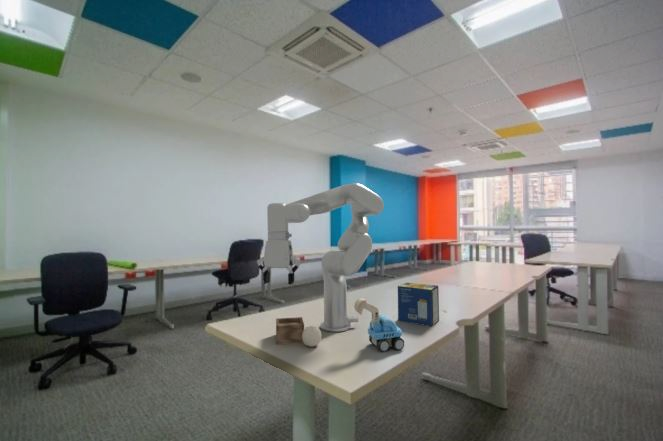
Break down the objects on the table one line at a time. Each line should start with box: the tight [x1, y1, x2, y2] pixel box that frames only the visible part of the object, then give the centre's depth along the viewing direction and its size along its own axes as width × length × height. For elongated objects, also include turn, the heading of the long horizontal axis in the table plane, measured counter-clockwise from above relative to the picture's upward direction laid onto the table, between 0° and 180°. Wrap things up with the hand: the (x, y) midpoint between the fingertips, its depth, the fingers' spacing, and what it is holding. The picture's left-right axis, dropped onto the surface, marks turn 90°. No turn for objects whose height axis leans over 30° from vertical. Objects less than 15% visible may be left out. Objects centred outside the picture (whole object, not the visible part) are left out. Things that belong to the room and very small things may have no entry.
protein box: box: [397, 282, 440, 327], centre depth 137 cm, size 10×15×16 cm
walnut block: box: [275, 316, 305, 345], centre depth 115 cm, size 10×10×6 cm
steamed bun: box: [302, 325, 322, 347], centre depth 108 cm, size 7×7×7 cm
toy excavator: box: [353, 297, 405, 353], centre depth 106 cm, size 9×17×17 cm, turn 106°
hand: (278, 283), depth 113 cm, fingers open, 9 cm apart
